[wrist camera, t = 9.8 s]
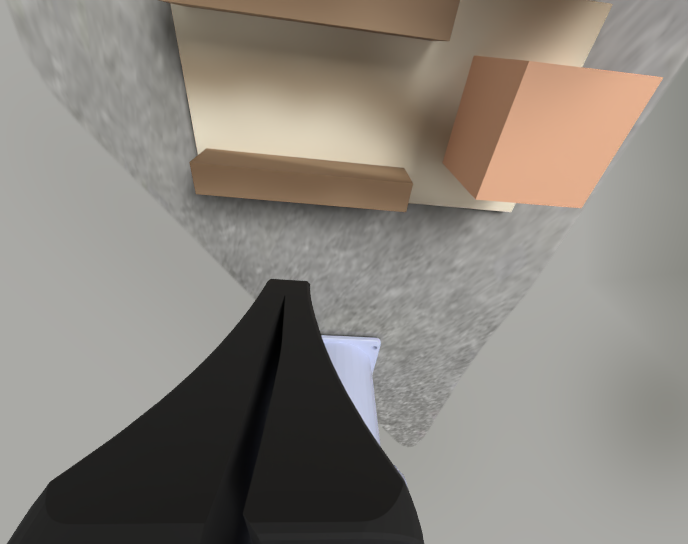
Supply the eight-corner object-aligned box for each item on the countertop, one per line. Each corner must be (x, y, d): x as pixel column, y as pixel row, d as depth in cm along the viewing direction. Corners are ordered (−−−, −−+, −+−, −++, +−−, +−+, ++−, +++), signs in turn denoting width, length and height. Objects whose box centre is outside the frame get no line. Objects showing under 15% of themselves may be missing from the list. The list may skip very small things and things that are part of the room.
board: (507, 208, 20) (511, 212, 19) (206, 181, 18) (203, 184, 17) (604, 5, 13) (612, 4, 13) (162, -66, 12) (156, -70, 11)
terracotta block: (525, 170, 17) (581, 208, 14) (442, 162, 17) (475, 199, 13) (572, 67, 14) (663, 77, 10) (473, 55, 14) (529, 60, 10)
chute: (398, 194, 18) (405, 212, 16) (210, 177, 17) (195, 194, 15) (444, -7, 13) (463, -15, 11) (173, -49, 12) (143, -66, 10)
